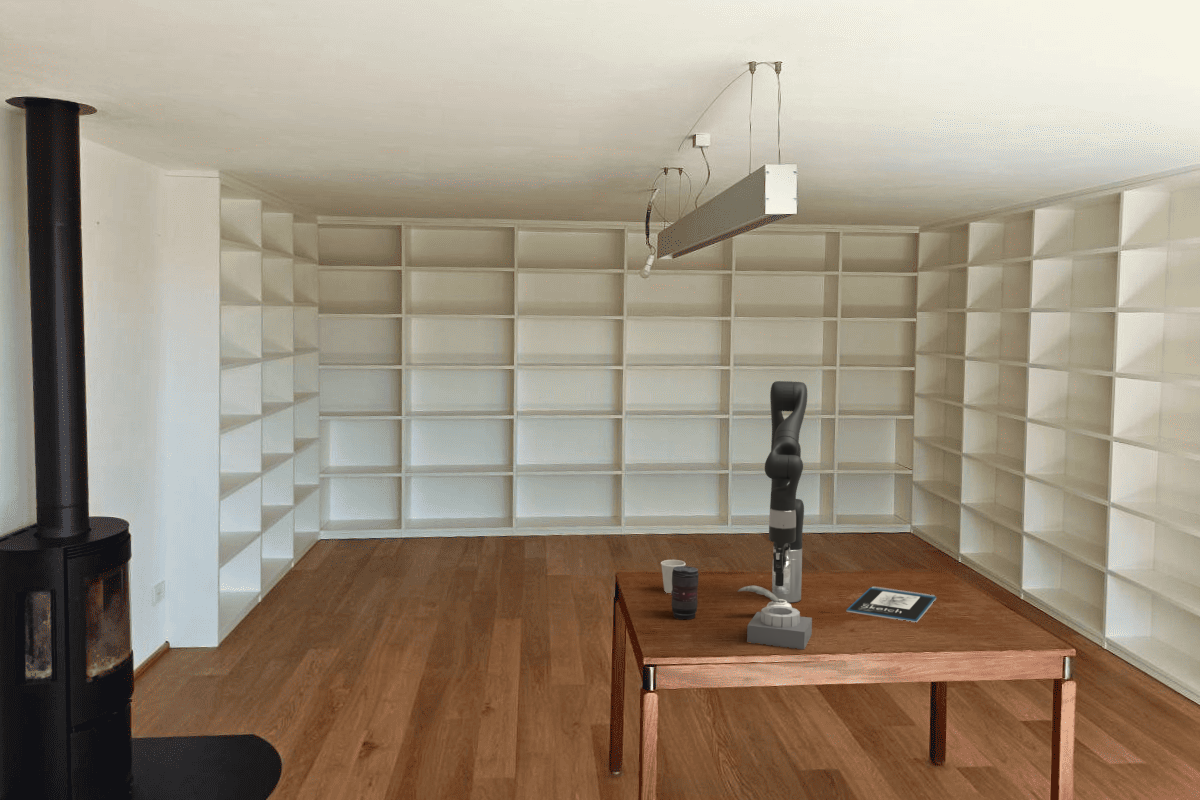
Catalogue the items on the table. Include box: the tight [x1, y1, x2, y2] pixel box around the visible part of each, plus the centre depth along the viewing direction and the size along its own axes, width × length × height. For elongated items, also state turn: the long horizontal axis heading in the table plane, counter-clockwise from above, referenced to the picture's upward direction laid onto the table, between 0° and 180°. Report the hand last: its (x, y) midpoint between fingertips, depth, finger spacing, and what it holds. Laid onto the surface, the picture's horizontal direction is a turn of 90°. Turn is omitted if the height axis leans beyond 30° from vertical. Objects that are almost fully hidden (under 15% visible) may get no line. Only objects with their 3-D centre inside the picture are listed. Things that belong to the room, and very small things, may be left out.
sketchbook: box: [845, 585, 937, 623], centre depth 313 cm, size 22×30×2 cm
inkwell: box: [736, 585, 793, 608], centre depth 298 cm, size 9×18×10 cm, turn 98°
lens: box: [771, 559, 791, 594], centre depth 277 cm, size 5×5×9 cm
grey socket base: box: [746, 606, 813, 650], centre depth 278 cm, size 14×16×8 cm
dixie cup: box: [660, 559, 687, 594], centre depth 326 cm, size 8×8×10 cm
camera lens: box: [670, 565, 699, 620], centre depth 298 cm, size 8×8×15 cm
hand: (781, 583), depth 278 cm, fingers closed on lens, 5 cm apart
